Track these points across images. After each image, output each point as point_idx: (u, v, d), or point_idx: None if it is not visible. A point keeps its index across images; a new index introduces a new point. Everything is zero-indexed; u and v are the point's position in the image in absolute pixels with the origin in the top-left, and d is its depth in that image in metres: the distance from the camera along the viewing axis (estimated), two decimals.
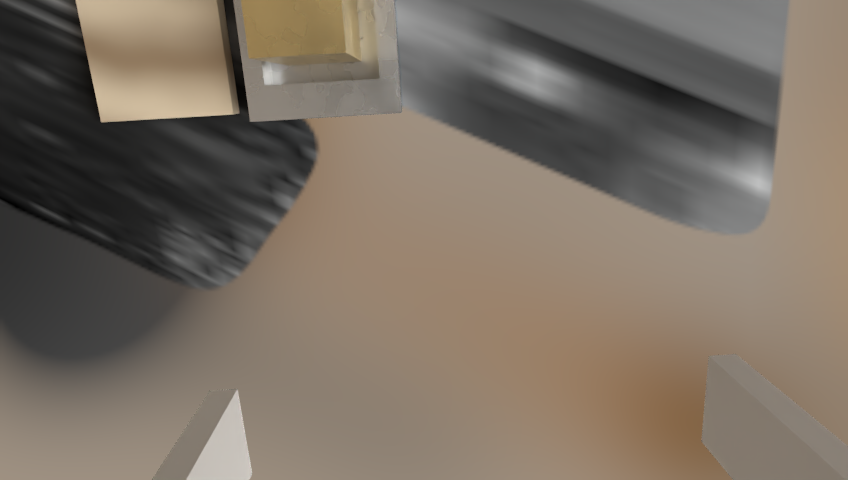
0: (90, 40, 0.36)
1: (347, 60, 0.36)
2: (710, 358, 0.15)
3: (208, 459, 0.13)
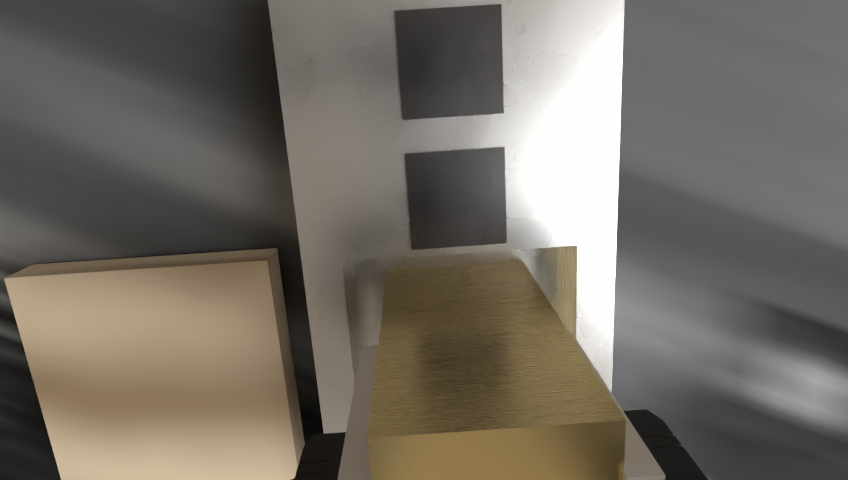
0: (43, 375, 0.20)
1: None
2: None
3: None
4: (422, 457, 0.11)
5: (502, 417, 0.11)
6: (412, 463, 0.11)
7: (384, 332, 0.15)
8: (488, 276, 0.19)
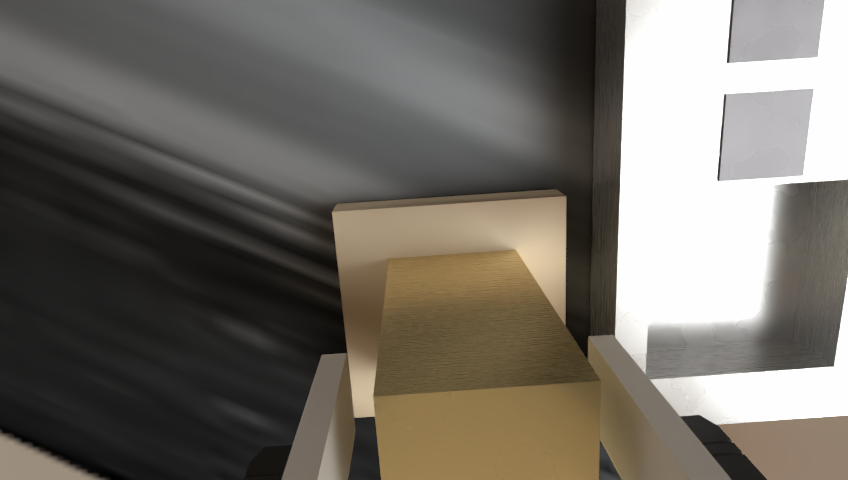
0: (352, 302, 0.22)
1: None
2: (589, 339, 0.17)
3: (338, 409, 0.14)
4: (421, 414, 0.12)
5: (492, 379, 0.12)
6: (413, 420, 0.12)
7: (387, 311, 0.17)
8: (483, 263, 0.20)
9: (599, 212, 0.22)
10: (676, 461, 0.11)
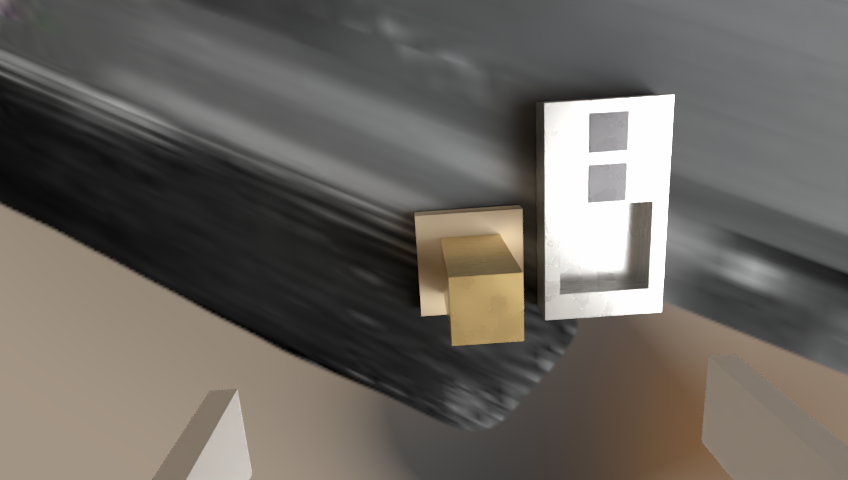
0: (422, 258, 0.47)
1: None
2: (710, 359, 0.15)
3: (208, 459, 0.13)
4: (464, 283, 0.37)
5: (487, 273, 0.37)
6: (461, 286, 0.37)
7: (445, 256, 0.41)
8: (484, 239, 0.45)
9: (539, 216, 0.47)
10: None
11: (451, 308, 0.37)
